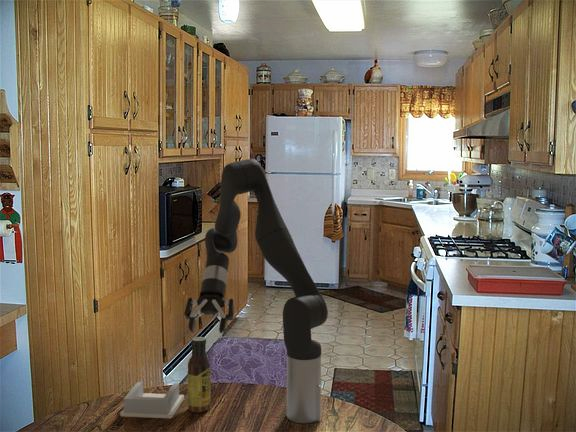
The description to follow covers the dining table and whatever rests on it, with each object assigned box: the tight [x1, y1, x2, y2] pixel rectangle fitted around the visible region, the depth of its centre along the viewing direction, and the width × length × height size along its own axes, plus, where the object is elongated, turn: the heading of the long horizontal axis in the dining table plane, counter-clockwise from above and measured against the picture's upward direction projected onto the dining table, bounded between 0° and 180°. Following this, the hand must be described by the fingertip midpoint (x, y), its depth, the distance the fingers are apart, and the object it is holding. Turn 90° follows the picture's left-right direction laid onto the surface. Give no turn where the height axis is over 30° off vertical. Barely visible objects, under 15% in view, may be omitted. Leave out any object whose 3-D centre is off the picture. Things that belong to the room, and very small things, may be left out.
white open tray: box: [120, 381, 185, 419], centre depth 163 cm, size 14×13×5 cm
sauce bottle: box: [187, 336, 211, 414], centre depth 161 cm, size 7×6×20 cm
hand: (206, 331), depth 169 cm, fingers open, 8 cm apart
